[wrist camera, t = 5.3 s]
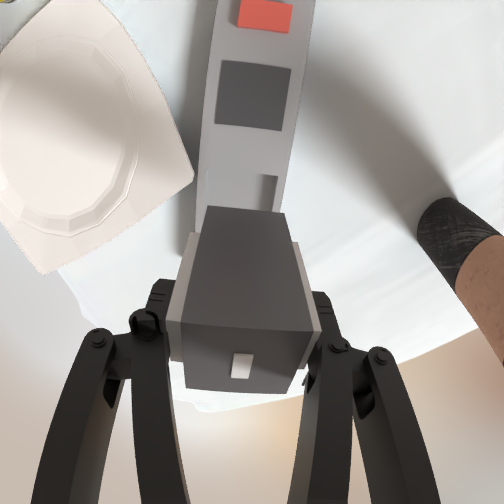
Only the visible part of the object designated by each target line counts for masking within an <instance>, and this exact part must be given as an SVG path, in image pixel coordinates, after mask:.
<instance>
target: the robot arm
mask: <svg viewBox="0 0 504 504" xmlns="http://www.w3.org/2000/svg"><path fill="white" fill-rule="evenodd" d="M199 237H200V233H198V232H190V234H189V237H188V241H187V244H186V247H185V251H184V254H183V257H182V261H181V264H180V268H179V271H178V275H177V278H176V280H169V279H159V280H158V281H157V282H156V283H155V284H154V285H153V287H152V289H151V292H150V295H149V298H148V301H147V304H146V307H145V308H143V309H139V310H137V311H135V312H133V313H132V314H131V316H130V318H129V325H130V329H131V332H129V333H126V334H119V335H112V333H111V332H110V331H109V330H107V329H104V328H96V329H93V330H91V331H90V332H88V333H87V335H86V336H85V337H84V340H83V342H82V344H81V346H80V349H79V351H78V353H77V356H76V358H75V361H74V363H73V365H72V368H71V370H70V373H69V375H68V378H67V380H66V383H65V385H64V388H63V391H62V393H61V396H60V399H59V402H58V404H57V407H56V410H55V413H54V416H53V419H52V422H51V425H50V428H49V432H48V435H47V438H46V441H45V445H44V449H43V452H42V456H41V460H40V463H39V467H38V472H37V476H36V480H35V484H34V489H33V494H32V500H31V504H98V499H99V492H100V487H101V481H102V476H103V470H104V465H105V460H106V456H107V451H108V446H109V442H110V437H111V433H112V428H113V424H114V420H115V416H116V412H117V408H118V405H119V401H120V397H121V393H122V390H123V386H124V382H125V379H131V391H132V392H131V393H132V417H133V434H134V447H135V457H136V466H137V475H138V482H139V489H140V495H141V503H142V504H191V503H190V499H189V494H188V490H187V485H186V480H185V475H184V470H183V465H182V459H181V454H180V448H179V442H178V435H177V429H176V422H175V415H174V408H173V400H172V391H171V382H170V372H169V365H168V363H169V358H170V359H171V361H177V362H183V353H182V340H181V325H180V321H181V316H182V312H183V307H184V302H185V297H186V293H187V288H188V284H189V279H190V275H191V270H192V266H193V262H194V258H195V253H196V249H197V245H198V241H199ZM292 244H293V248H294V252H295V255H296V259H297V263H298V267H299V271H300V275H301V279H302V283H303V287H304V291H305V295H306V299H307V303H308V308H309V312H310V316H311V320H312V325H313V329H314V333H313V335H312V337H311V340H310V342H309V344H308V347H307V349H306V351H305V354H304V356H303V358H302V360H301V363H300V365H299V367H298V369H304V368H305V366H306V364H307V363H308V368H309V371H308V373H307V375H306V377H305V379H304V381H303V383H302V386H304V385H305V390H304V399H303V407H302V415H301V422H300V430H299V437H298V443H297V450H296V456H295V463H294V469H293V474H292V480H291V486H290V491H289V496H288V501H287V504H348V491H349V480H350V466H351V449H352V419H354V422H355V427H356V431H357V435H358V440H359V444H360V449H361V453H362V458H363V462H364V467H365V472H366V477H367V482H368V487H369V492H370V498H371V503H372V504H441V502H440V498H439V494H438V489H437V486H436V482H435V478H434V474H433V470H432V467H431V463H430V460H429V456H428V453H427V449H426V446H425V443H424V440H423V436H422V433H421V430H420V427H419V424H418V422H417V418H416V415H415V413H414V410H413V407H412V404H411V401H410V398H409V396H408V393H407V390H406V388H405V385H404V382H403V380H402V377H401V375H400V372H399V370H398V367H397V364H396V362H395V359H394V357H393V355H392V354H391V352H390V351H388V350H387V349H385V348H383V347H378V346H376V347H373V348H371V349H370V350H369V352H366V351H362V350H358V349H355V348H352V347H351V346H350V344H349V342H348V341H347V340H346V339H344V338H343V337H342V336H341V333H340V329H339V326H338V323H337V320H336V317H335V314H334V310H333V308H332V304H331V301H330V299H329V297H328V296H327V295H326V294H325V293H324V292H318V291H311V288H310V284H309V281H308V277H307V274H306V270H305V266H304V263H303V259H302V256H301V252H300V249H299V245H298V242H292ZM352 417H353V418H352Z"/></svg>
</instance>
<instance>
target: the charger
mask: <svg viewBox="0 0 504 504" xmlns="http://www.w3.org/2000/svg"><path fill="white" fill-rule="evenodd" d="M180 325H181V340H182V353H183V364H184V375H185V385H186V388H189V389H199V390H209V391H222V392H237V393H262V394H286V393H287V390H288V388H289V386H290V384H291V382H292V380H293V378H294V376H295V374H296V371H297V369H298V367H299V365H300V363H301V360H302V358H303V356H304V354H305V351H306V349H307V347H308V344H309V342H310V340H311V337H312V335H313V333H314V329H313V325H312V320H311V316H310V312H309V308H308V303H307V299H306V295H305V291H304V287H303V283H302V279H301V275H300V271H299V267H298V263H297V259H296V255H295V252H294V248H293V244H292V240H291V236H290V233H289V229H288V225H287V222H286V218H285V214H284V213H278V212H270V211H261V210H251V209H242V208H232V207H222V206H211V205H207V209H206V213H205V217H204V221H203V225H202V229H201V233H200V237H199V241H198V245H197V249H196V253H195V258H194V262H193V266H192V270H191V275H190V279H189V284H188V288H187V293H186V297H185V302H184V307H183V312H182V316H181V321H180Z"/></svg>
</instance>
